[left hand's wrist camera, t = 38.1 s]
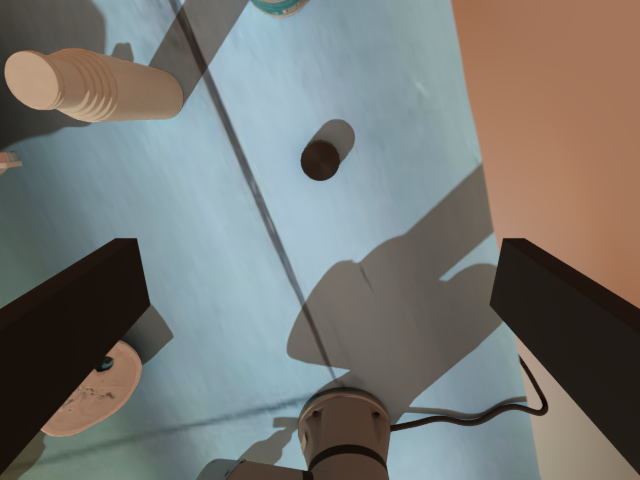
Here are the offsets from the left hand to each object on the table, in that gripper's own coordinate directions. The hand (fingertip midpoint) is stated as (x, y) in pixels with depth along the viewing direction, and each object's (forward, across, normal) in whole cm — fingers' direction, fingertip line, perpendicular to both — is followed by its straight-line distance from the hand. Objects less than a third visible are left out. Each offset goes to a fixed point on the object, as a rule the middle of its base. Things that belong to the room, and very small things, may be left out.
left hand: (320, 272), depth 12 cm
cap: (+30, 0, 0) cm, 30 cm away
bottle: (+32, +19, -7) cm, 37 cm away
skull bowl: (+32, +34, +31) cm, 56 cm away
